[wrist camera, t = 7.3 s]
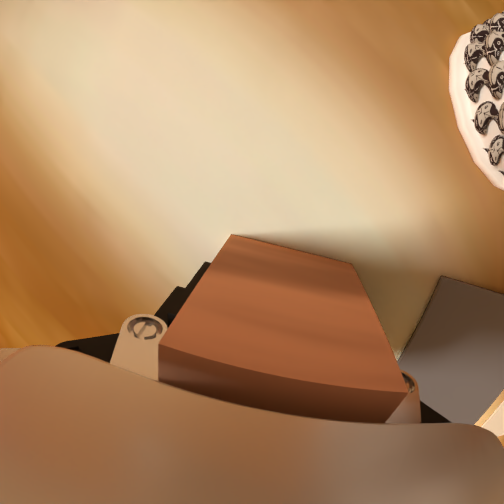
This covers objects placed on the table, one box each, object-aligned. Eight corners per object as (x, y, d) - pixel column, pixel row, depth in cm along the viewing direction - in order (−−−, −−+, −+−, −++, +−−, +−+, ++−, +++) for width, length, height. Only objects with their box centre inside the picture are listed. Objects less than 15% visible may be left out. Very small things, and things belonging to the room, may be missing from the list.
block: (231, 234, 11) (158, 343, 5) (351, 263, 11) (408, 392, 5) (213, 333, 13) (161, 457, 7) (314, 356, 13) (320, 487, 6)
